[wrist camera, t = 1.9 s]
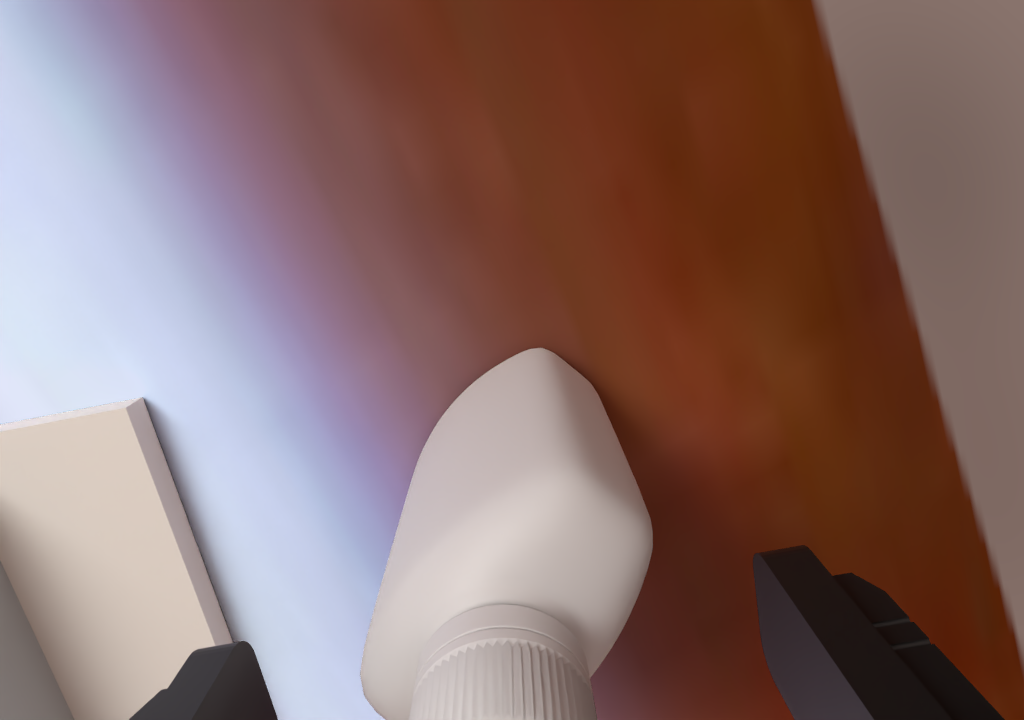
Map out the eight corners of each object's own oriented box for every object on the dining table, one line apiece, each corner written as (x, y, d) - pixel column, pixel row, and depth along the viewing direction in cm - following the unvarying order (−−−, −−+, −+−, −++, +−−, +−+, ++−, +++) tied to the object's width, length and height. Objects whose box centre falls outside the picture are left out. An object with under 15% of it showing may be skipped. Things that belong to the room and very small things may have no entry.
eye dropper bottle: (626, 473, 18) (850, 1011, 6) (437, 539, 18) (328, 1153, 7) (573, 328, 17) (731, 665, 5) (373, 402, 17) (114, 863, 6)
